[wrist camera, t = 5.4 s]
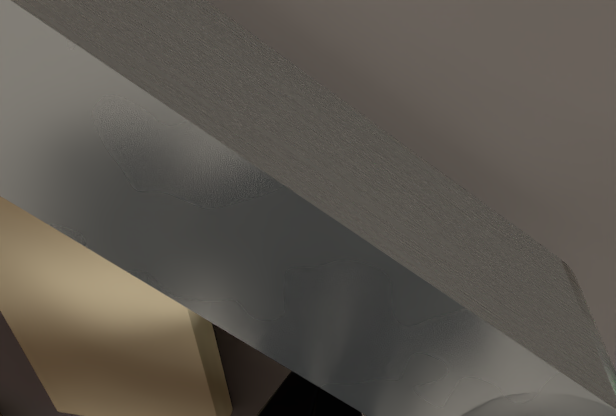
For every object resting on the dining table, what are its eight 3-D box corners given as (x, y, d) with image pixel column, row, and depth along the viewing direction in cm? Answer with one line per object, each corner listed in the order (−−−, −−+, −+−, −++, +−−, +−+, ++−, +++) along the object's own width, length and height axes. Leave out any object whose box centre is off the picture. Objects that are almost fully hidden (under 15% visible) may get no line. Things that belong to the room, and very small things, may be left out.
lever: (-220, -105, 8) (-722, -113, 4) (-237, -350, 6) (-1095, -685, 3) (494, 366, 10) (532, 594, 7) (625, 286, 9) (761, 538, 5)
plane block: (232, 409, 16) (222, 437, 15) (75, 386, 17) (57, 411, 16) (54, -327, 7) (2, -360, 6) (-258, -264, 8) (-337, -285, 7)
